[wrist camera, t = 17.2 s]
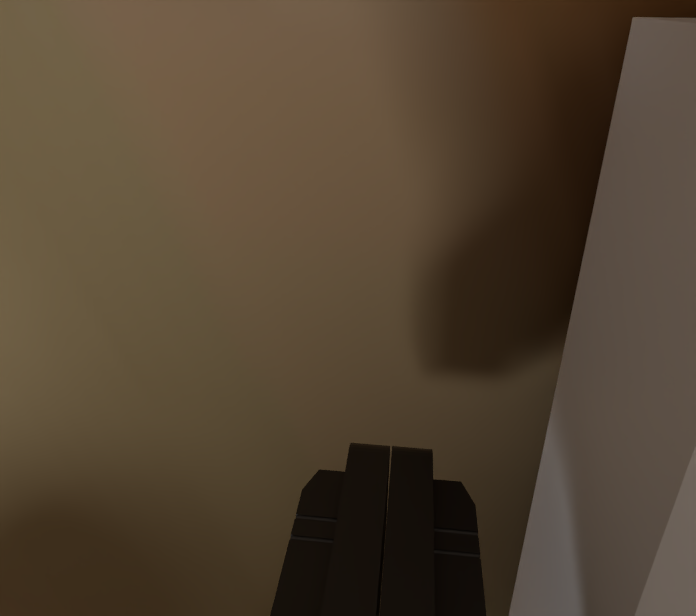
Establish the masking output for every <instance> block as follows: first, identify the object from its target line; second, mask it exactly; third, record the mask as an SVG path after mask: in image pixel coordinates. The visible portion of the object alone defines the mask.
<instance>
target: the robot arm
mask: <svg viewBox="0 0 696 616" xmlns="http://www.w3.org/2000/svg"><path fill="white" fill-rule="evenodd" d="M389 459H390V446H382V445H370V444H358V443H351V444H350V447H349V453H348V459H347V464H346V470H345V472H341V471H330V470H318V472H317V473H316V474H315V475H314V476H313V478H312V479H311V480H310V481H309V482H308V483H307V485H306V486H305V487H304V488H303V489H302V493H301V497H300V501H299V505H298V509H297V513H296V519H295V520H294V524H293V528H292V532H291V539H290V540H289V544H288V548H287V552H286V556H285V560H284V564H283V568H282V572H281V576H280V580H279V584H278V587H277V591H276V595H275V599H274V603H273V607H272V611H271V615H270V616H379V612H380V616H486V609H485V599H484V588H483V578H482V568H481V559H480V548H479V538H478V527H477V517H476V507H475V504H474V502H473V501H472V499H471V497H470V496H469V494H468V492H467V491H466V489H465V488H464V486H463V484H462V483H461V482H457V481H446V480H434V479H433V453H432V449H420V448H408V447H396V446H392V458H391V471H390V484H389V498H388V479H389ZM387 499H388V511H387ZM386 517H387V524H386ZM385 533H386V538H385ZM384 547H385V551H384ZM383 560H384V564H383ZM382 573H383V578H382ZM381 586H382V591H381ZM380 599H381V604H380Z"/></svg>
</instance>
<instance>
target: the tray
mask: <svg viewBox="0 0 696 616" xmlns="http://www.w3.org/2000/svg"><path fill="white" fill-rule="evenodd" d="M509 616H696V18H666V17H633V19H632V23H631V28H630V33H629V38H628V43H627V48H626V52H625V57H624V62H623V67H622V72H621V76H620V81H619V86H618V91H617V96H616V101H615V105H614V110H613V115H612V120H611V125H610V129H609V134H608V139H607V144H606V149H605V153H604V158H603V163H602V168H601V173H600V178H599V182H598V187H597V192H596V197H595V202H594V206H593V211H592V216H591V221H590V226H589V231H588V235H587V240H586V245H585V250H584V255H583V259H582V264H581V269H580V274H579V279H578V283H577V288H576V293H575V298H574V303H573V308H572V312H571V317H570V322H569V327H568V332H567V336H566V341H565V346H564V351H563V356H562V360H561V365H560V370H559V375H558V380H557V385H556V389H555V394H554V399H553V404H552V409H551V413H550V418H549V423H548V428H547V433H546V438H545V442H544V447H543V452H542V457H541V462H540V466H539V471H538V476H537V481H536V486H535V490H534V495H533V500H532V505H531V510H530V515H529V519H528V524H527V529H526V534H525V539H524V543H523V548H522V553H521V558H520V563H519V568H518V572H517V577H516V582H515V587H514V592H513V596H512V601H511V606H510V611H509Z"/></svg>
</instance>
